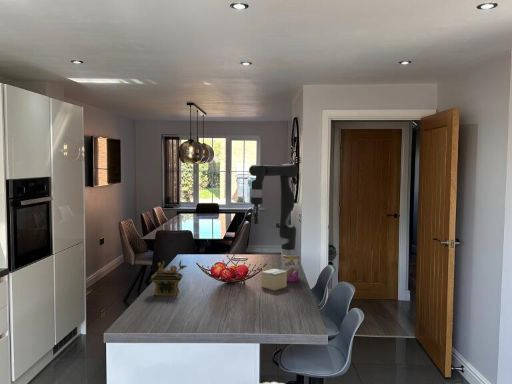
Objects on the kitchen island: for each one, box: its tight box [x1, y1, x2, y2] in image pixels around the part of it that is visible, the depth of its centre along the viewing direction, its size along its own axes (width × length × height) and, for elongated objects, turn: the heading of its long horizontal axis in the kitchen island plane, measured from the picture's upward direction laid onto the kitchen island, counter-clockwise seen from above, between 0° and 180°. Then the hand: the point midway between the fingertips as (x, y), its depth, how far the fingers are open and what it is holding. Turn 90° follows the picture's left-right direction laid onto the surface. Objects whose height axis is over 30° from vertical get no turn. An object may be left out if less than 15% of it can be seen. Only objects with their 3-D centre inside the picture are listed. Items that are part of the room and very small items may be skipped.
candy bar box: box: [280, 254, 300, 283], centre depth 304 cm, size 11×5×16 cm, turn 84°
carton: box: [261, 272, 288, 291], centre depth 287 cm, size 12×10×9 cm
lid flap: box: [261, 268, 287, 275], centre depth 287 cm, size 12×10×1 cm
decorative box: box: [150, 260, 188, 297], centre depth 267 cm, size 20×10×20 cm, turn 91°
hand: (256, 223), depth 298 cm, fingers closed
